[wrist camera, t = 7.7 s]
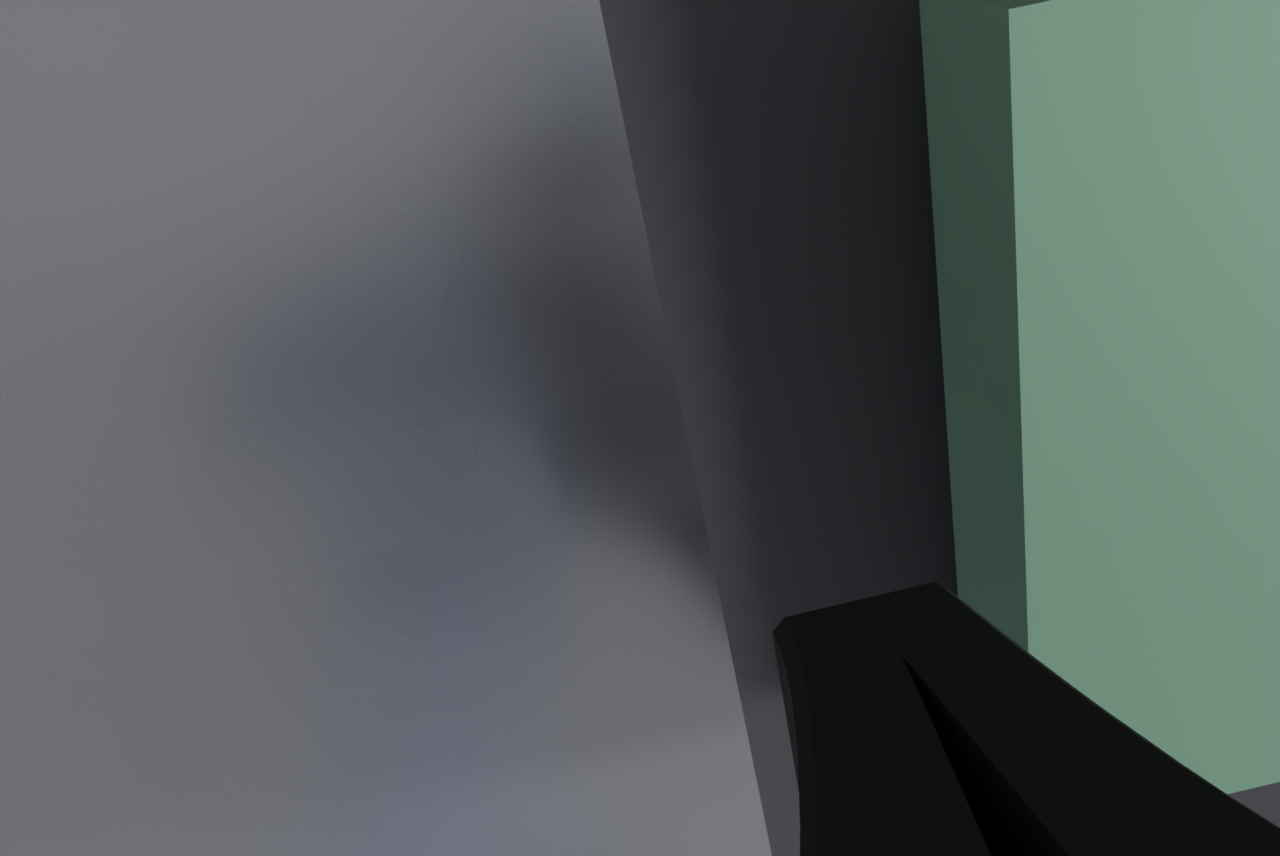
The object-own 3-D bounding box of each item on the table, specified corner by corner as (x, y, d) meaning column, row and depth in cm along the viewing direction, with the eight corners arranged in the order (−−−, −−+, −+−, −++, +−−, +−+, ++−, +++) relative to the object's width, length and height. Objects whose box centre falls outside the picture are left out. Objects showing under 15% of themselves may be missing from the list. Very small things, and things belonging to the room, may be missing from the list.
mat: (1496, 795, 18) (1511, 810, 18) (778, 976, 18) (781, 992, 18) (1917, -1009, 9) (1958, -1034, 9) (419, -693, 9) (418, -710, 8)
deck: (768, 935, 17) (843, 1210, 14) (-123, 1157, 17) (-278, 1497, 14) (456, -526, 9) (442, -766, 5) (-1319, -144, 9) (-2551, -137, 5)
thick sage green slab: (1034, 840, 13) (946, 687, 15) (1538, 720, 13) (1372, 588, 15) (1008, 9, 9) (893, -20, 11) (1746, -148, 9) (1474, -142, 11)
